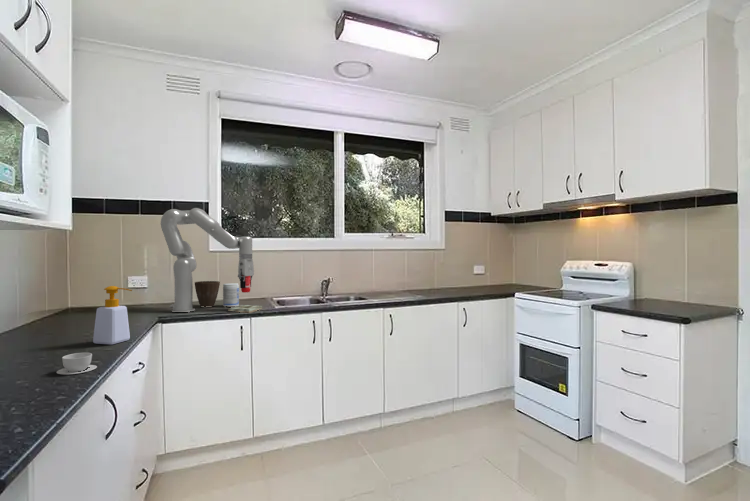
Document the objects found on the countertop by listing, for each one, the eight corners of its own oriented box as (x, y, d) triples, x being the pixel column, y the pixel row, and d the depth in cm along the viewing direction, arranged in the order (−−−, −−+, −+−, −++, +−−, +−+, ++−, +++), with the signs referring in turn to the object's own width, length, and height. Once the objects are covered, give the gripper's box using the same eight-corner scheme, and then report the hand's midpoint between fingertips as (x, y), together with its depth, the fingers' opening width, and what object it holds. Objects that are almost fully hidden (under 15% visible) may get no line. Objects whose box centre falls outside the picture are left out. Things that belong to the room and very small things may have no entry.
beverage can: (241, 292, 242) (241, 272, 242) (241, 291, 247) (241, 271, 247) (250, 292, 243) (250, 272, 243) (250, 291, 248) (250, 271, 248)
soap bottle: (121, 346, 155) (122, 287, 155) (91, 344, 158) (91, 286, 158) (140, 340, 165) (141, 285, 164) (111, 339, 167) (111, 284, 167)
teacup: (100, 371, 125) (100, 355, 125) (59, 378, 118) (59, 361, 118) (93, 364, 132) (93, 349, 132) (53, 370, 125) (54, 355, 125)
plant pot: (201, 305, 266) (201, 280, 266) (223, 305, 266) (223, 281, 266) (189, 308, 252) (189, 282, 251) (213, 309, 251) (213, 282, 251)
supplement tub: (240, 307, 260) (241, 283, 260) (225, 308, 254) (225, 284, 254) (236, 305, 268) (236, 282, 268) (221, 306, 262) (221, 283, 262)
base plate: (228, 311, 240) (228, 308, 240) (241, 308, 254) (241, 305, 254) (249, 313, 236) (249, 309, 236) (262, 309, 250) (262, 306, 250)
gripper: (243, 257, 236) (243, 289, 236) (258, 256, 252) (258, 286, 252) (231, 257, 238) (231, 288, 238) (248, 256, 254) (248, 286, 254)
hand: (245, 287), depth 245 cm, fingers closed on beverage can, 5 cm apart
